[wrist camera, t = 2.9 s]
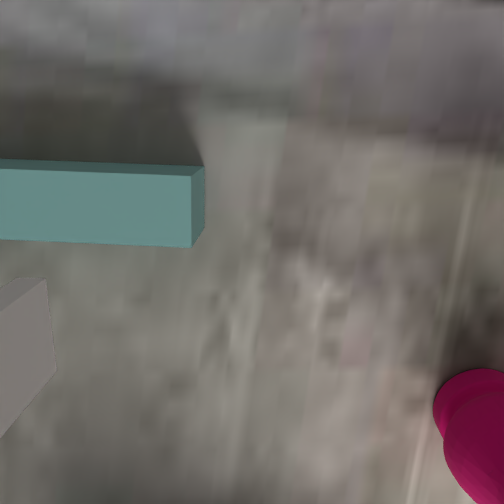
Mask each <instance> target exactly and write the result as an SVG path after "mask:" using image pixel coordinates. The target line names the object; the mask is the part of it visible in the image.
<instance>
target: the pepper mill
mask: <svg viewBox="0 0 504 504" xmlns="http://www.w3.org/2000/svg"><path fill="white" fill-rule="evenodd" d="M433 416H434V420H435V423H436V425H437V427H438V429H439V431H440V433H441V435H442V437H443V439H444V441H443V449H444V455H445V460H446V462H447V465H448V467H449V469H450V471H451V472H452V474H453V475H454V477H455V479H456V480H457V482H458V483H459V485H460V486H461V487H462V488H463V490H464V491H465V492H466V493H467V494H468V495H469V496H470V497H471V498H472V499H473V500H474V501H475V502H476V503H477V504H504V373H502V372H499V371H497V370H492V369H483V368H481V369H474V370H469V371H466V372H463V373H460V374H457V375H456V376H454V377H453V378H451V379H450V380H449V381H447V382H446V383H445V384H444V385H443V387H442V388H441V389H440V390H439V392H438V394H437V396H436V398H435V401H434V405H433Z"/></svg>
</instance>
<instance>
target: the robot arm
mask: <svg viewBox="0 0 504 504" xmlns="http://www.w3.org/2000/svg"><path fill="white" fill-rule="evenodd" d="M56 372H57V366H56V358H55V350H54V342H53V334H52V326H51V318H50V310H49V302H48V294H47V286H46V278H16V279H14V280H13V281H11V282H10V283H8V284H7V285H5V286H4V287H2V288H1V289H0V438H1V437H2V436H3V434H4V433H5V432H6V431H7V430H8V428H9V427H10V426H11V425H12V424H13V423H14V421H15V420H16V419H17V418H18V417H19V415H20V414H21V413H22V412H23V411H24V410H25V408H26V407H27V406H28V405H29V404H30V402H31V401H32V400H33V399H34V398H35V396H36V395H37V394H38V393H39V392H40V391H41V389H42V388H43V387H44V386H45V385H46V383H47V382H48V381H49V380H50V379H51V377H52V376H53V375H54V374H55V373H56Z"/></svg>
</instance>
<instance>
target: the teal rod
mask: <svg viewBox="0 0 504 504" xmlns="http://www.w3.org/2000/svg"><path fill="white" fill-rule="evenodd" d="M203 229H204V166H184V165H157V164H130V163H103V162H76V161H48V160H21V159H0V239H4V240H27V241H49V242H72V243H94V244H116V245H139V246H161V247H184V248H192V246H193V245H194V243H195V242H196V240H197V238H198V237H199V235H200V234H201V232H202V231H203Z"/></svg>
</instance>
